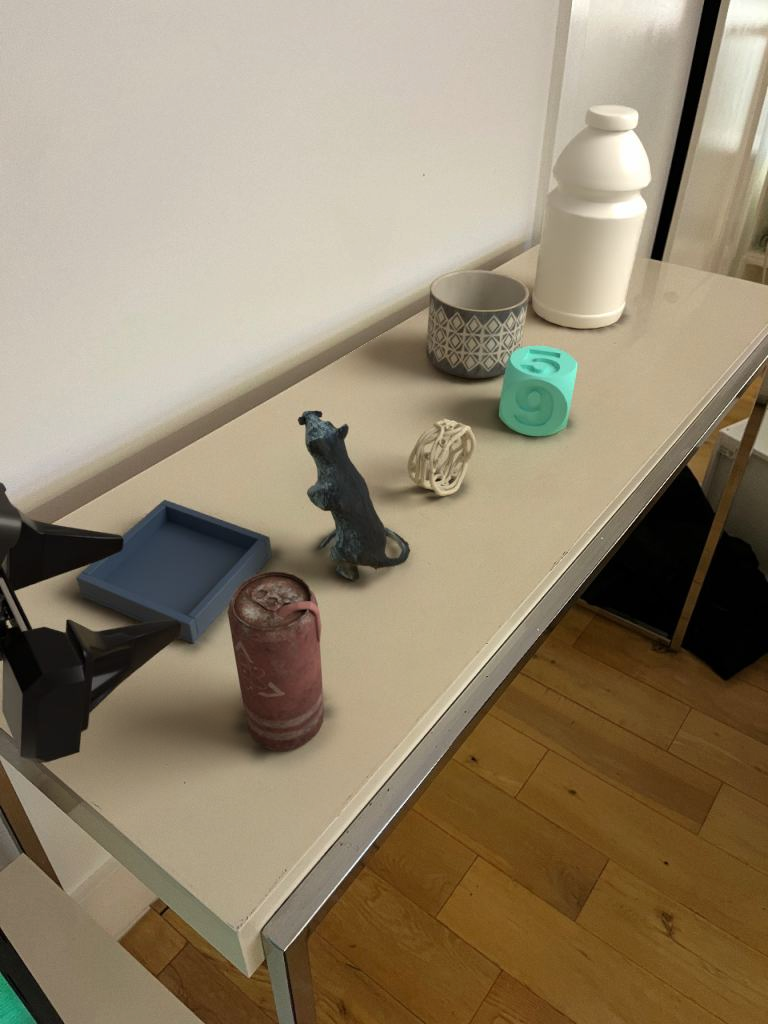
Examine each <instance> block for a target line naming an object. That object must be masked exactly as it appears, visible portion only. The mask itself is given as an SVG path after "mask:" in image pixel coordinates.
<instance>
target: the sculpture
mask: <svg viewBox="0 0 768 1024" xmlns="http://www.w3.org/2000/svg"><path fill="white" fill-rule="evenodd" d="M322 417H323V412H322V410H305V411H303V412H302V413H301V416H299V417H298V418H297V422H298V425H299V426H305V427H304V430H305V431H304V432H305V433H304V442H305V443H304V444H305V447H306V450H307V451H308V453H309V455H310V456H311V457H312V459H313V461H314V464H315V466H316V472H317V473H316V474H317V475H316V476H317V477H316V478H317V480H316V481H315V482H314V484H313V485H311V486H310V487H309V488H308V489H307V491H306V495H307V498H308V499H309V501H310V502H311V503H312V505H314V506H315V507H316V508H318V509H320V510H321V511H324V512H330V514H331V516H332V519H333V521H334V527H335V529H334V530H333V531H332V532H330V533H329V534H328V535H327V537H326V538H325V539H324V540H323V541H322V543H321V545H320V546H319V549H320V550H323V549H324V548H325V547H326V546H327V545H328V544H330V542H331V541H332V540H333V539H334V540H333V541H332V544H331V545H330V548H329V549H330V551H329V553H330V555H329V556H330V558H331V559H332V562H333V563H334V564H335V565H336V566H337V568H336V569H335V571H336V572H337V573H338V575H340V576H341V577H344V578H345V579H348V580H351V581H354V582H357V580H358V579H359V578H360V574H359V569H358V567H359V566H362V567H370V568H372V569H374V570H378V569H383V568H393V567H395V566H400V565H403V564H406V563H407V560H408V558H409V555H410V553H411V549H410V546H409V545H410V544H409V543H408V541H406V539H404V538H403V537H401V536H400V535H399V534H398V533H396V532H395V531H392V530H391V529H390V528H388V527H386V526H385V524H384V523H383V521H382V520H381V518H380V516H379V515H378V513H377V511H376V509H375V506H374V503H373V501H372V498H371V495H370V490H369V486H368V484H367V482H366V480H365V477H363V475H362V474H361V473H360V471H359V470H358V469H357V467H356V466H355V464H354V463H353V462H352V461H351V458H350V457H349V454H348V450H347V446H346V442H345V439H346V438H347V436H348V434H349V425H348V424H347V423H344V424H342V425H341V426H340V427H336V426H335V425H334V424H333V423H332V422H331V421H330V420H322V419H321V418H322ZM387 538H390V539H391V540H393V541H394V542H396V544H397V545H398V547H399V548H400V551H401V552H400V555H398V557H392V558H391V557H389V556H387V554H386V549H387V543H388V542H387V541H388V540H387Z"/></svg>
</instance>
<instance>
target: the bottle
mask: <svg viewBox="0 0 768 1024" xmlns="http://www.w3.org/2000/svg"><path fill="white" fill-rule="evenodd" d="M639 116H640V115H639V112H638V110H636V109H635V108H633V107H629V106H626V105H620V104H596V105H593V106H592V105H591V106H590V107H589V108H588V109H587V111H586V114H585V117H584V122H585V124H586V125H587V126H586V127H585V128H584V129H582V130H581V131H580V132H578V133H577V134H576V135H575V136H574V137H573V138H572V139H571V140H570V141H569V142H567V144H566V146H565V147H563V149H562V151H560V153H559V155H558V158H556V161H555V163H554V165H553V167H552V176H553V178H554V179H555V181H556V183H557V185H556V187H555V188H554V189H551V191H550V192H549V193H548V194H547V195H546V197H545V202H544V204H545V205H544V212H543V213H544V214H543V220H542V227H541V235H540V241H539V248H538V255H537V256H538V257H537V261H536V262H537V263H536V269H535V276H534V277H535V278H534V284H533V288H532V291H531V293H532V294H531V304H532V310H534V312H535V313H536V315H537V316H539V317H540V318H542V319H544V320H545V321H547V322H549V323H552V324H555V325H559V326H561V327H567V328H573V329H598V328H604V327H608V326H610V325H612V324H614V323H616V322H618V321H619V319H620V318H621V316H622V314H623V313H624V310H625V307H626V305H627V304H626V303H627V302H626V299H627V294H628V290H629V286H630V282H631V277H632V273H633V269H634V265H635V261H636V257H637V252H638V248H639V244H640V238H641V234H642V230H643V227H644V223H645V219H646V215H647V214H648V213H647V212H648V206H647V203H646V200H645V199H644V198H643V196H642V194H641V193H642V191H643V190H644V189H645V188H647V187H648V186H649V184H650V183H651V182H652V173H651V171H652V170H651V165H650V159H649V157H648V154H647V151H646V150H645V147H644V144H643V143H642V141H641V140H640V138H639V136H638V135H637V134H636V132H635V131H634V129H636V128H637V127H638V124H639Z"/></svg>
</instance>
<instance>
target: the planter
mask: <svg viewBox="0 0 768 1024" xmlns="http://www.w3.org/2000/svg"><path fill="white" fill-rule="evenodd" d="M529 298H530V291H529V289H528V287H527V286H526V285H525V283H523V282H522V281H521V280H519V279H517V278H515V277H514V276H511V275H508V274H505V273H501V272H499V271H493V270H484V269H483V270H482V269H462V270H461V269H460V270H455V271H451V272H447V273H443V274H442V275H439V276H438V277H436V278H435V279H434V280H433V281H432V282H431V283H430V286H429V302H428V318H427V319H428V321H427V339H426V340H427V341H426V356H427V359H428V360H429V362H430V363H431V364H432V365H433V366H434V367H436V369H439V370H440V371H442V372H444V373H447V374H449V375H453V376H457V377H461V378H467V379H489V378H494V377H498V376H502V375H505V370H506V366H507V362H508V358H509V355H510V354H511V353H513V352H514V351H516V350H518V349H520V348H523V347H522V346H523V339H524V332H525V325H526V318H527V310H528V305H529Z"/></svg>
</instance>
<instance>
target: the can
mask: <svg viewBox="0 0 768 1024" xmlns="http://www.w3.org/2000/svg"><path fill="white" fill-rule="evenodd" d="M320 613H321V612H320V609H319V603H318V601H317V597H316V594H315V593H314V592H313V591H312V590H311V588H310V586H309V585H308V584H307V582H306V581H304V579H302V578H301V577H299V576H298V575H295V574H294V573H289V572H285V571H266V572H261V573H256V574H255V575H254V576H253V577H251V578H248V579H247V580H246V581H244V582H243V583H242V584H241V585H239V586H238V588H237V590H236V591H235V593H234V594H233V598H232V600H231V602H230V603H229V604H228V609H227V619H228V624H229V630H230V635H231V642H232V647H233V653H234V659H235V666H236V671H237V677H238V684H239V689H240V690H239V691H240V695H241V702H242V706H243V712H244V719H245V724H246V729H247V732H248V733H249V735H250V737H251V738H252V740H253V741H254V742H256V743H257V744H259V745H260V746H262V747H263V748H267V749H271V750H274V751H278V752H279V751H281V752H285V751H286V752H289V751H292V750H296V749H299V748H301V747H303V746H304V745H306V744H307V743H309V742H311V741H312V740H313V739H314V738H315V737H316V736H317V735H318V733H319V732H320V730H321V728H322V727H323V724H324V719H325V717H324V716H325V707H324V705H325V704H324V690H323V689H324V688H323V672H322V655H321V636H322V627H323V626H322V621H321V614H320Z"/></svg>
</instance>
